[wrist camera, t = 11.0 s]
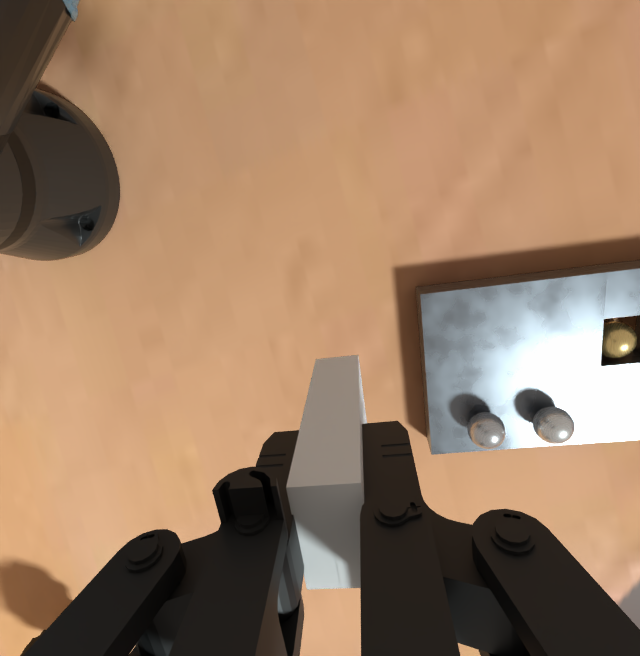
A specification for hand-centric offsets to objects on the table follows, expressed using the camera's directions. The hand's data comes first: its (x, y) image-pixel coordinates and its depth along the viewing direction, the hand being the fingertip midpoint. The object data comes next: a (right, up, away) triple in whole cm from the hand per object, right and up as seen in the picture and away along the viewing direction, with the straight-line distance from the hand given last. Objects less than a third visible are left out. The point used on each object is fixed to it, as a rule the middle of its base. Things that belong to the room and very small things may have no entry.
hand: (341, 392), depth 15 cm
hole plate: (+22, 0, +26) cm, 34 cm away
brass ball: (+27, +1, +24) cm, 35 cm away
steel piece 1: (+15, -7, +24) cm, 29 cm away
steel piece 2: (+21, -7, +23) cm, 32 cm away
